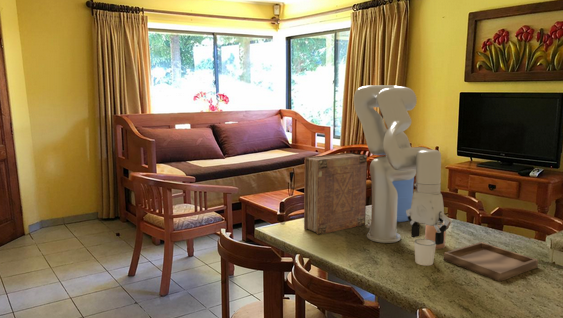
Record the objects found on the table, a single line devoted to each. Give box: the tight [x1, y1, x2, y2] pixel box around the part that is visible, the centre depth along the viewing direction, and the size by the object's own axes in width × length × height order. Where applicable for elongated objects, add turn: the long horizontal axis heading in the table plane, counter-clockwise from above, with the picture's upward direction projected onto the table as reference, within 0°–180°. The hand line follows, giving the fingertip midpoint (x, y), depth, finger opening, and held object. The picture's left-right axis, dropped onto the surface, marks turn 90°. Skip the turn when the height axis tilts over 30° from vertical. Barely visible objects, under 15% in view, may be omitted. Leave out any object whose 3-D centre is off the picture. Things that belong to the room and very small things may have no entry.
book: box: [303, 152, 368, 236], centre depth 180 cm, size 25×9×30 cm, turn 122°
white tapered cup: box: [413, 238, 436, 267], centre depth 144 cm, size 7×7×7 cm
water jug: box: [392, 176, 415, 223], centre depth 194 cm, size 16×16×28 cm
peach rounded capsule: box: [424, 222, 447, 250], centre depth 159 cm, size 7×7×8 cm
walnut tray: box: [443, 241, 539, 282], centre depth 142 cm, size 20×20×2 cm
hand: (427, 240), depth 142 cm, fingers open, 9 cm apart
